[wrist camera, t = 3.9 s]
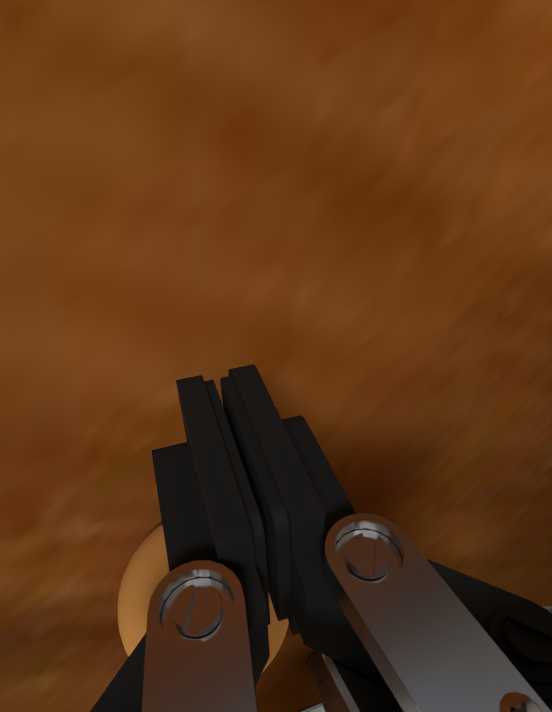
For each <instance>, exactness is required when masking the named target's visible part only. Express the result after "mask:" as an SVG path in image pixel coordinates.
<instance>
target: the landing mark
mask: <svg viewBox="0 0 552 712" xmlns="http://www.w3.org/2000/svg"><path fill="white" fill-rule="evenodd" d="M301 712H325V710H324V707H323V705H322V703H319V704H317V705H315V706H312V707H310V708H308V709H306V710H303V711H301Z"/></svg>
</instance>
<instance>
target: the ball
mask: <svg viewBox="0 0 552 712" xmlns="http://www.w3.org/2000/svg"><path fill="white" fill-rule="evenodd" d="M168 573H169V565H168V558H167V552H166V545H165V538H164V531H163V524H161V525H160V526H158V527H157V528H156V529H155V530H153V531H152V532H151V533H150V534H149V535H148V536H147V537H146V538H145V539H144V540H143V542H142V543H141V544H140V545H139V547H138V548H137V550H136V551H135V553H134V554H133V556H132V558H131V559H130V561H129V564H128V566H127V568H126V570H125V573H124V575H123V579H122V582H121V586H120V591H119V597H118V625H119V631H120V635H121V639H122V642H123V645H124V648H125V651H126V653H127V654H128V656H130V655H131V653H132V652H133V650H134V649H135V647H136V646H137V645H138V643H139V642H140V640H141V639H142V638H143V636H144V635H145V633H146V629H147V612H148V607H149V603H150V598H151V596H152V594H153V592H154V590H155V588H156V586H157V585H158V583H159V582H160V581H161V580H162V579H163V578H164V577H165V576H166V575H167V574H168ZM268 593H269V592H268ZM269 608H270V625H268V636H269V650H270V657H269V659H268V661H267V663H266V665H265V667H264V669H263V671H262V673H263V672H264V670H265V669H266V668H267V667H268V666H269V664H270V663H271V662H272V660H273V659H274V657H275V656H276V654H277V652H278V650H279V649H280V647H281V645H282V643H283V640H284V637H285V635H286V632H287V629H288V625H289V621H288V619H285V620H282V621H278V619H277V617H276V614H275V611H274V608H273V604H272V601H271V598H270V595H269ZM262 673H261V674H262Z"/></svg>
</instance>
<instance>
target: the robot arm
mask: <svg viewBox="0 0 552 712" xmlns="http://www.w3.org/2000/svg"><path fill="white" fill-rule="evenodd" d="M220 381H221V390H222V399H223V406H222V403H221V400H220V397H219V394H218V392H217V389H216V386H215V383H214V380H209V381H204V379H203V377H202V375H199V376H194V377H190V378H185V379H180V380H176V383H177V389H178V394H179V400H180V405H181V411H182V416H183V422H184V427H185V433H186V438H187V442H185V443H181V444H177V445H173V446H168V447H164V448H160V449H156V450H152V456H153V463H154V470H155V477H156V484H157V491H158V497H159V504H160V511H161V518H162V524H163V531H164V538H165V545H166V552H167V558H168V565H169V573H168V574H167V575H166V576H165V577H164V578H163V579H162V580H161V581H160V582H159V583H158V585H157V586H156V588H155V590H154V592H153V594H152V596H151V598H150V603H149V607H148V612H147V629H146V633H145V635H144V636H143V638H142V639H141V640H140V642H139V643H138V645H137V646H136V647H135V649H134V650H133V652H132V653H131V655H130V656H129V657H128V659H127V660H126V662H125V663H124V664H123V666H122V667H121V669H120V670H119V672H118V673H117V674H116V676H115V677H114V679H113V680H112V681H111V683H110V684H109V686H108V687H107V689H106V690H105V691H104V693H103V694H102V696H101V697H100V698H99V700H98V701H97V703H96V704H95V706H94V707H93V708H92V710H91V711H90V712H258V710H257V701H256V692H255V686H256V684H257V682H258V680H259V678H260V676H261V673H262V671H263V669H264V667H265V665H266V663H267V661H268V659H269V657H270V650H269V636H268V625H270V608H269V595H270V598H271V601H272V604H273V608H274V611H275V614H276V617H277V619H278V621H282V620H285V619H288V621H289V624H290V627H291V630H292V633H293V635H294V634H297V633H301V636H302V639H303V642H304V644H305V645H307V646H309V647H310V648H312V649H314V650H316V651H318V652H320V653H321V654H322V657H323V660H324V662H325V665H326V666H327V668H328V670H329V672H330V674H331V676H332V678H333V680H334V682H335V683H336V685H337V687H338V689H339V691H340V693H341V695H342V697H343V699H344V700H345V702H346V704H347V706H348V708H349V710H350V712H552V607H541V606H539V605H537V604H535V603H534V602H532V601H529V600H527V599H524V598H522V597H519V596H517V595H514V594H512V593H509V592H507V591H505V590H502V589H500V588H497V587H495V586H492V585H490V584H487V583H485V582H482V581H480V580H477V579H475V578H472V577H470V576H467V575H465V574H463V573H460V572H458V571H455V570H453V569H450V568H448V567H445V566H443V565H440V564H438V563H435V562H433V561H430V560H428V559H426V558H425V557H424V556H423V554H422V553H421V552H420V551H419V550H418V548H417V547H416V546H415V545H414V543H413V542H412V541H411V540H410V539H409V537H408V536H407V535H406V534H405V532H404V531H402V530H401V529H400V528H399V527H398V526H397V525H396V524H395V523H393V522H391V521H390V520H388V519H386V518H384V517H382V516H378V515H374V514H370V513H357V514H356V513H355V511H354V509H353V507H352V505H351V503H350V502H349V500H348V498H347V496H346V494H345V492H344V490H343V489H342V487H341V485H340V483H339V481H338V479H337V478H336V476H335V474H334V472H333V470H332V468H331V466H330V465H329V463H328V461H327V459H326V457H325V455H324V453H323V452H322V450H321V448H320V446H319V444H318V442H317V441H316V439H315V437H314V435H313V433H312V431H311V429H310V428H309V426H308V424H307V422H306V421H305V419H304V418H303V417H302V416H301V415H300V416H296V417H292V418H287V419H283V420H281V418H280V416H279V414H278V412H277V410H276V408H275V406H274V404H273V402H272V399H271V397H270V395H269V393H268V391H267V389H266V387H265V385H264V383H263V381H262V379H261V377H260V374H259V372H258V370H257V368H256V367H255V365H254V364H253V365H248V366H243V367H238V368H234V369H229V376H228V377H223V378H221V380H220ZM223 408H224V409H223ZM268 592H269V593H268Z"/></svg>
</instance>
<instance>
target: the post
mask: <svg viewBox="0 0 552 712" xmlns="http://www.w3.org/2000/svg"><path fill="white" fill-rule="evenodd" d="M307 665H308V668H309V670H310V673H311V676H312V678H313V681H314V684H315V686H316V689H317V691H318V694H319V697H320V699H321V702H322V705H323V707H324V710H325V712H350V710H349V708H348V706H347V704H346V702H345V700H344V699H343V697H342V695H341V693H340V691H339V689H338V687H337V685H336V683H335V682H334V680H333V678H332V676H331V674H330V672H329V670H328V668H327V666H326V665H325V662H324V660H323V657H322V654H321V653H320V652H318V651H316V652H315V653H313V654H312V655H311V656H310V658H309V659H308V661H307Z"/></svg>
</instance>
